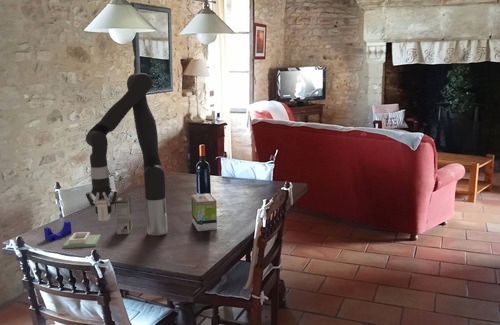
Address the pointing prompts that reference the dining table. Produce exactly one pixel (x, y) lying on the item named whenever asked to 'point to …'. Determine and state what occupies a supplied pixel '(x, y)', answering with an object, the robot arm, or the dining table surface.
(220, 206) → the dining table surface
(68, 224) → the blue arch block
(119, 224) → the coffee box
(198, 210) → the tea box
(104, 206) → the plug
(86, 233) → the board
